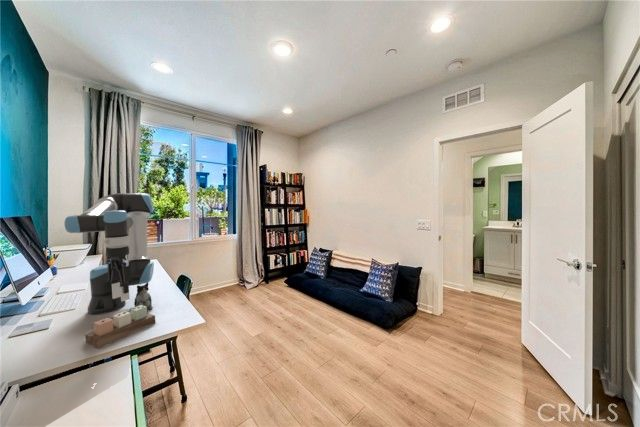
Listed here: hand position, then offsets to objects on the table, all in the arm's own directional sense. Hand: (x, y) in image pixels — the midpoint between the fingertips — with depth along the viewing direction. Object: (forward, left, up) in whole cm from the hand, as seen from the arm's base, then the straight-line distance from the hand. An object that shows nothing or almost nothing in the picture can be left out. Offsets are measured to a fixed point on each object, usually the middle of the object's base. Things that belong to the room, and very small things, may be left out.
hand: (121, 298), depth 101 cm
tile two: (0, 0, -12) cm, 12 cm away
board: (0, 0, -15) cm, 15 cm away
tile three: (0, +6, -12) cm, 14 cm away
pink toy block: (0, -7, -12) cm, 14 cm away
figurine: (-14, +14, -15) cm, 25 cm away
